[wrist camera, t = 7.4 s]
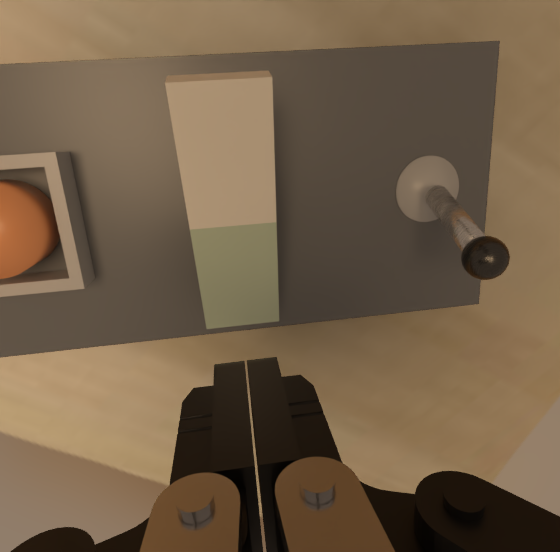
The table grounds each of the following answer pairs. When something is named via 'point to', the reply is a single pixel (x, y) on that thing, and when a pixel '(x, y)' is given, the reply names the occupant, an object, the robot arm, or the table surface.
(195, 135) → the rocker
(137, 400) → the table surface
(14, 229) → the button
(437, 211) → the lever
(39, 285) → the panel
